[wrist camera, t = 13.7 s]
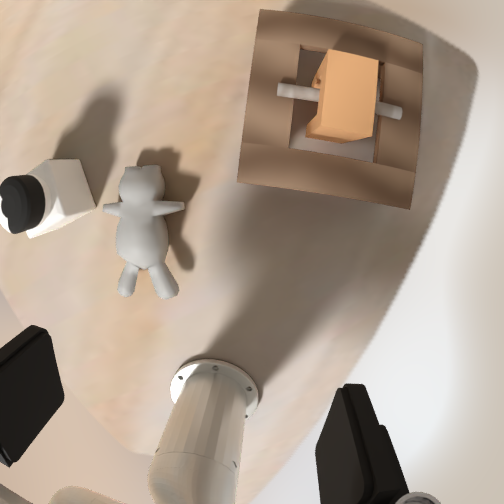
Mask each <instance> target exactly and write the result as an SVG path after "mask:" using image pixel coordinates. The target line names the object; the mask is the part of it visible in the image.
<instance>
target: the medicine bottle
mask: <svg viewBox="0 0 504 504" xmlns="http://www.w3.org/2000/svg"><path fill="white" fill-rule="evenodd" d="M95 208H96V205H95V203H94V200H93V197H92V194H91V192H90V189H89V186H88V183H87V180H86V177H85V174H84V171H83V168H82V165H81V162H80V160H79V159H47V160H45V161H44V162H42V163H41V164H40V165H38V166H37V167H36V168H34V169H33V170H32V171H30V172H29V173H28V174H26V175H20V176H11V177H8V178H6V179H5V180H4V181H3V182H2V184H1V185H0V223H1V225H2V226H3V227H4V228H5V229H6V230H7V231H8V232H10V233H13V234H17V233H20V232H23V231H26V232H27V235H28V237H29V238H34V237H36V236H39V235H42V234H45V233H48V232H51V231H53V230H56V229H59V228H62V227H63V226H65V225H67V224H69V223H71V222H72V221H74V220H76V219H78V218H80V217H82V216H83V215H85V214H87V213H89V212H91V211H93V210H94V209H95Z"/></svg>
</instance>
